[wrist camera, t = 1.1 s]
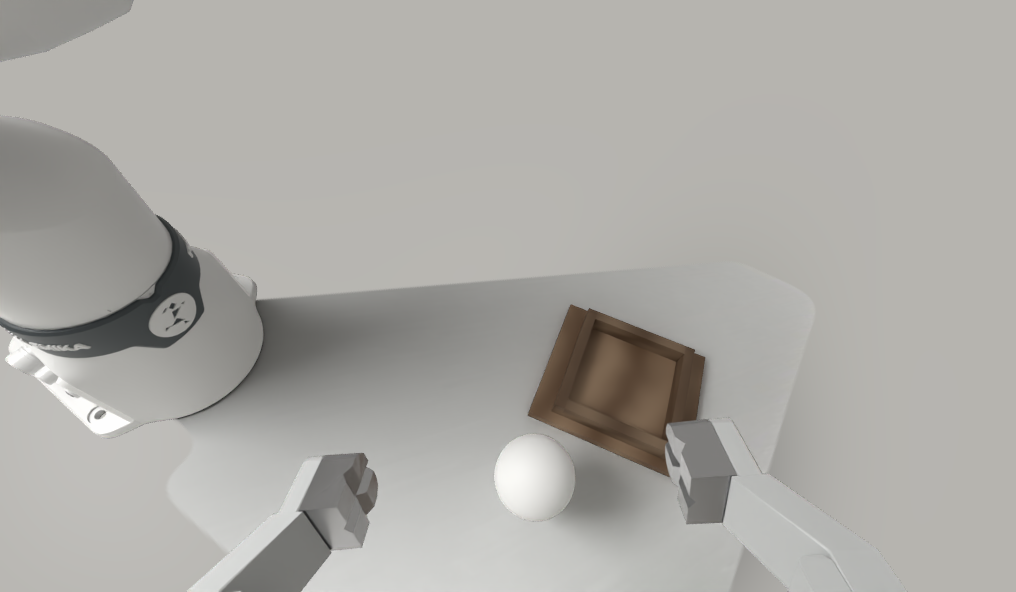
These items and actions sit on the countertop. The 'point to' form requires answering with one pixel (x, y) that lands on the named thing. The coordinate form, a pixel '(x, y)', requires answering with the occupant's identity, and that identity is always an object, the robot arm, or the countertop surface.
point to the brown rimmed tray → (618, 386)
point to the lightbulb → (534, 477)
